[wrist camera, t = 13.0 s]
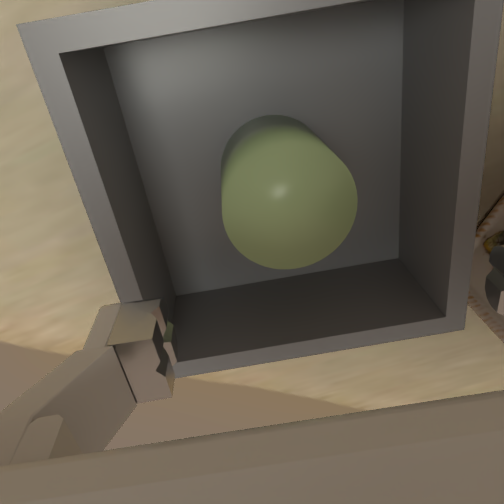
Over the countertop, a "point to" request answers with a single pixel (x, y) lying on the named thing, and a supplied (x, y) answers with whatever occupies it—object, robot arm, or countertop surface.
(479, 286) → the decorative jar
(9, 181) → the countertop surface
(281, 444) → the robot arm
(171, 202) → the grey bin
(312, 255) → the egg-shaped green gourd
